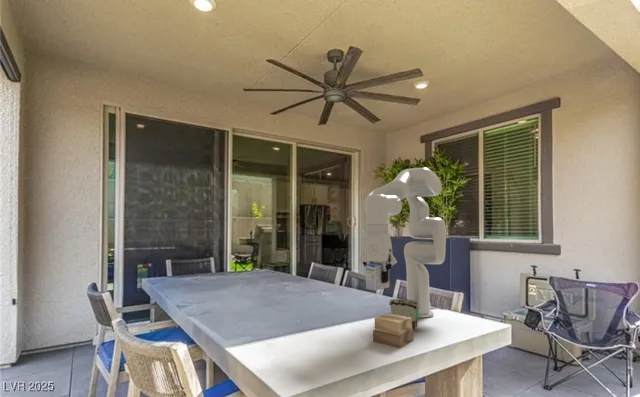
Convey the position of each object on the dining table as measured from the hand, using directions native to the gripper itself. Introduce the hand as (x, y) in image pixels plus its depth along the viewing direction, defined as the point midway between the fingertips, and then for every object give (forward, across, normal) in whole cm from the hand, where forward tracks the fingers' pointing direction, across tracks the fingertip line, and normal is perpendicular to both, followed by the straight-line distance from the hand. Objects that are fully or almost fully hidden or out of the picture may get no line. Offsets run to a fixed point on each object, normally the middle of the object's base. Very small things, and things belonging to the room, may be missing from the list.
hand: (377, 281), depth 126 cm
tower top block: (+15, +6, 0) cm, 17 cm away
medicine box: (+3, 0, 0) cm, 3 cm away
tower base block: (+20, +6, 0) cm, 20 cm away
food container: (+19, +2, +18) cm, 27 cm away
